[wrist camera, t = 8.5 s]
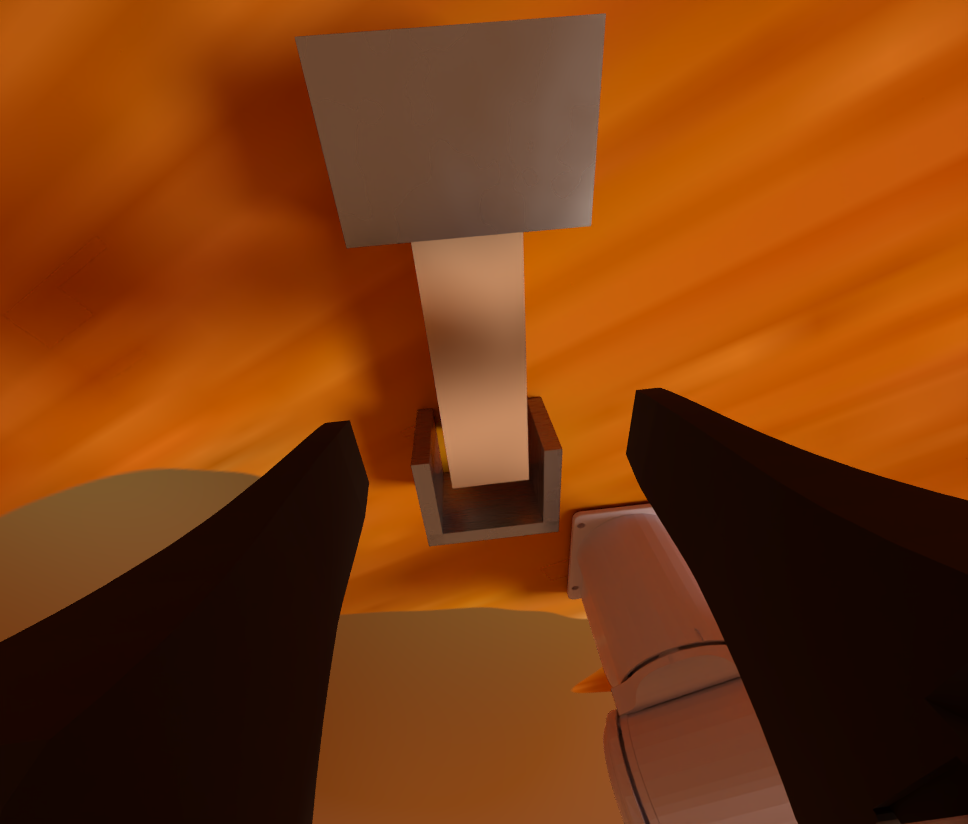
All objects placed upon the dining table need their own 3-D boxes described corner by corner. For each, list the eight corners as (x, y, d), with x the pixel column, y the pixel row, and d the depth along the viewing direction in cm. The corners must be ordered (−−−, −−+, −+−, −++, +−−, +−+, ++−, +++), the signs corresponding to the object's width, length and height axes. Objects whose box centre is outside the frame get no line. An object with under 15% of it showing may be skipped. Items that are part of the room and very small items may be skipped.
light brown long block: (512, 419, 22) (528, 479, 18) (451, 426, 22) (452, 488, 18) (501, 170, 16) (521, 171, 11) (413, 178, 15) (401, 183, 11)
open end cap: (540, 472, 24) (558, 531, 20) (431, 484, 24) (429, 546, 20) (541, 397, 21) (562, 449, 17) (417, 409, 21) (410, 465, 17)
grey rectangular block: (542, 205, 16) (591, 225, 11) (380, 220, 16) (346, 248, 10) (543, 73, 14) (605, 13, 8) (354, 88, 14) (294, 36, 8)
